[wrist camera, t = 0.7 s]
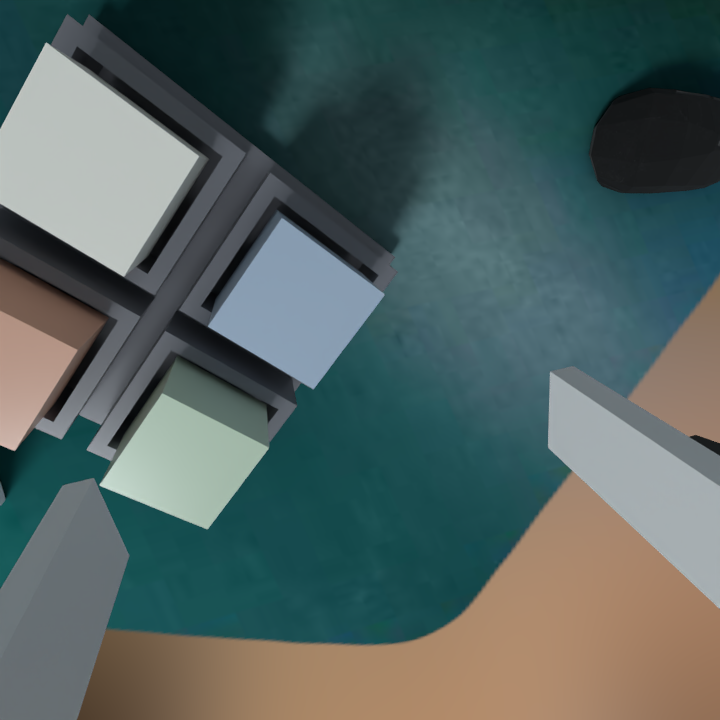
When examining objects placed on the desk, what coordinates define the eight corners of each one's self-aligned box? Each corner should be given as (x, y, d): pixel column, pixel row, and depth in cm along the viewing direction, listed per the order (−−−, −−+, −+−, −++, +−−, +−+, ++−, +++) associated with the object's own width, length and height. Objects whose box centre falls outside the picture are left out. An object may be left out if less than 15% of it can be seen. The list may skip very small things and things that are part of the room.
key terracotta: (-65, 347, 24) (-138, 389, 19) (-11, 251, 23) (-76, 271, 18) (55, 402, 26) (14, 450, 22) (109, 317, 25) (77, 350, 21)
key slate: (215, 299, 26) (207, 326, 21) (276, 209, 25) (281, 217, 20) (303, 354, 28) (313, 389, 24) (362, 273, 27) (385, 294, 23)
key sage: (124, 434, 28) (99, 485, 23) (177, 355, 27) (162, 393, 22) (214, 475, 30) (207, 529, 26) (266, 404, 29) (269, 447, 24)
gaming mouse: (745, 194, 36) (800, 197, 32) (574, 191, 33) (614, 193, 29) (774, 101, 33) (838, 93, 30) (593, 88, 30) (639, 77, 27)
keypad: (-76, 333, 27) (-141, 365, 23) (95, 20, 24) (58, -16, 19) (227, 474, 35) (223, 519, 30) (391, 254, 31) (414, 269, 27)
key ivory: (27, 182, 22) (-30, 185, 18) (90, 69, 21) (46, 42, 17) (147, 256, 24) (123, 276, 20) (209, 158, 23) (199, 156, 19)
